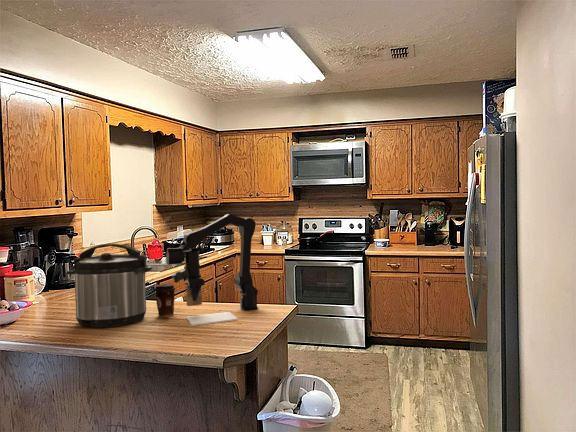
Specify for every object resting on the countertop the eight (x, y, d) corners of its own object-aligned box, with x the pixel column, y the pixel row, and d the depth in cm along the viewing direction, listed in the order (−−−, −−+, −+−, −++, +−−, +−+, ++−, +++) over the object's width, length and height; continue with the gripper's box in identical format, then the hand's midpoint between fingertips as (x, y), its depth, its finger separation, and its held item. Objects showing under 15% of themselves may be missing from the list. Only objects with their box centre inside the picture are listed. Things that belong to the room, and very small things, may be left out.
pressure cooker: (165, 315, 203) (161, 240, 202) (116, 332, 177) (112, 247, 176) (111, 311, 215) (108, 241, 214) (58, 327, 189) (54, 247, 188)
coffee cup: (155, 318, 197) (153, 287, 196) (155, 314, 205) (153, 284, 204) (176, 316, 199) (175, 285, 199) (176, 312, 207) (174, 282, 207)
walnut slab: (201, 303, 200) (200, 284, 200) (202, 304, 198) (201, 285, 198) (186, 305, 198) (185, 285, 198) (187, 306, 196) (186, 286, 196)
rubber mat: (229, 313, 201) (229, 311, 201) (237, 320, 188) (237, 318, 188) (186, 318, 195) (186, 316, 195) (191, 326, 182) (191, 324, 182)
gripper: (169, 262, 203) (171, 298, 204) (175, 266, 186) (177, 306, 186) (195, 260, 207) (197, 295, 208) (204, 264, 190) (205, 303, 190)
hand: (194, 300), depth 198 cm, fingers closed on walnut slab, 2 cm apart
